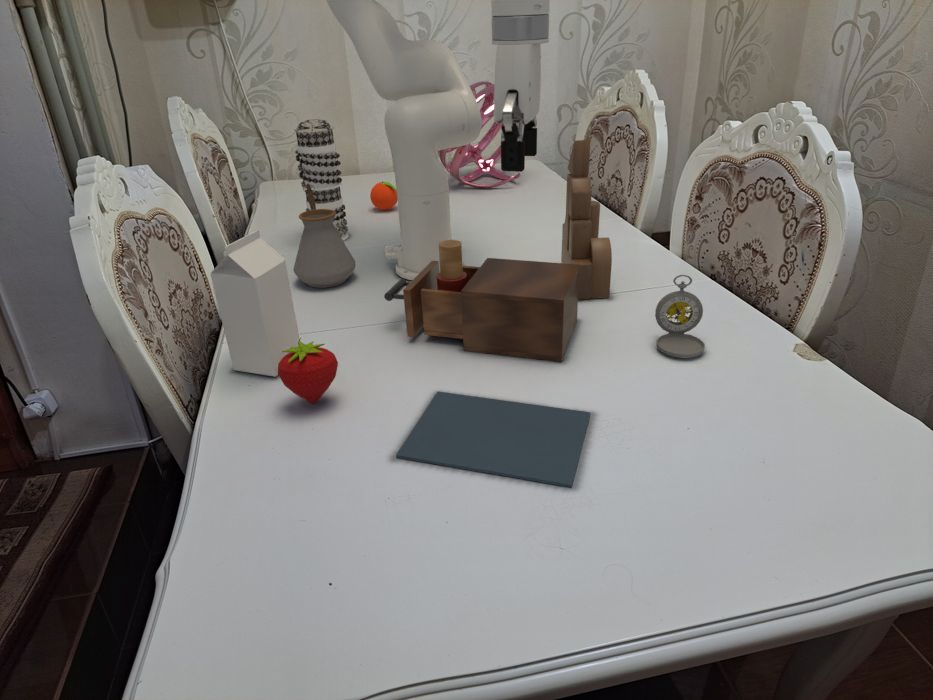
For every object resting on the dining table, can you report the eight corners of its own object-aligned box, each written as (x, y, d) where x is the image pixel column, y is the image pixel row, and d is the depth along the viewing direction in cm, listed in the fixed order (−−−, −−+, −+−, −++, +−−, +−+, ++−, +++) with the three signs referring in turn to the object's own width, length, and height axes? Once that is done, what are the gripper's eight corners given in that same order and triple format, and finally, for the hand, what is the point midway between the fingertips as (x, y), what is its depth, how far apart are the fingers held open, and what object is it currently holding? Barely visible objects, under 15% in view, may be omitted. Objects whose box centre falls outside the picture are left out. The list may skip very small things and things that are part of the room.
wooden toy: (611, 298, 110) (622, 147, 98) (572, 300, 110) (578, 149, 98) (594, 266, 123) (602, 130, 111) (559, 267, 123) (563, 131, 111)
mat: (396, 457, 73) (395, 454, 73) (437, 393, 85) (437, 391, 85) (571, 487, 68) (571, 484, 68) (590, 414, 79) (590, 412, 79)
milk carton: (303, 354, 96) (280, 231, 87) (275, 378, 90) (248, 249, 81) (262, 348, 98) (236, 228, 89) (233, 371, 92) (202, 244, 83)
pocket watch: (679, 365, 89) (687, 298, 84) (638, 341, 96) (644, 278, 91) (722, 350, 92) (733, 285, 88) (679, 328, 99) (687, 266, 94)
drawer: (378, 333, 99) (373, 287, 96) (409, 301, 110) (405, 258, 106) (492, 346, 94) (491, 297, 90) (513, 311, 104) (512, 266, 101)
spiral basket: (572, 108, 170) (497, 45, 174) (505, 153, 156) (426, 83, 160) (535, 180, 194) (471, 123, 198) (475, 224, 180) (407, 162, 184)
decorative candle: (300, 242, 143) (280, 124, 131) (323, 229, 150) (306, 117, 138) (335, 246, 139) (318, 125, 128) (357, 233, 147) (343, 118, 135)
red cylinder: (435, 321, 100) (430, 247, 94) (444, 309, 104) (440, 237, 98) (463, 324, 98) (459, 249, 93) (472, 312, 102) (469, 239, 97)
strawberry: (346, 409, 83) (335, 340, 78) (286, 420, 81) (271, 350, 76) (340, 386, 88) (330, 320, 83) (283, 396, 86) (270, 329, 81)
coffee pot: (361, 286, 119) (351, 206, 112) (298, 296, 116) (283, 214, 109) (346, 250, 137) (336, 179, 130) (291, 257, 134) (278, 185, 127)
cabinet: (463, 350, 95) (460, 290, 91) (488, 312, 107) (487, 257, 102) (561, 362, 91) (564, 300, 87) (576, 321, 102) (579, 264, 98)
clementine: (408, 208, 163) (405, 180, 160) (391, 215, 158) (388, 186, 155) (383, 204, 167) (380, 177, 164) (366, 211, 162) (362, 183, 159)
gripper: (506, 28, 93) (506, 150, 101) (476, 35, 79) (479, 176, 87) (558, 27, 91) (554, 151, 100) (537, 34, 77) (534, 178, 85)
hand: (519, 162), depth 93 cm, fingers open, 9 cm apart
